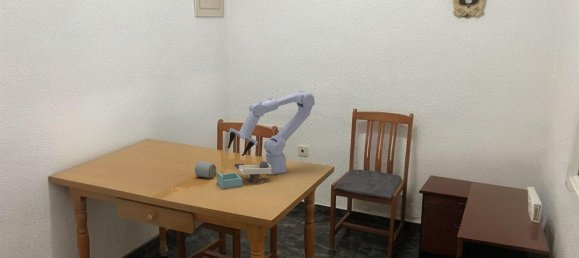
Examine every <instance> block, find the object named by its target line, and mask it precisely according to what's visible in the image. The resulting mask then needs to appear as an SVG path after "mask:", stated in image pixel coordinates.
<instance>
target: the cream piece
mask: <svg viewBox="0 0 579 258" xmlns="http://www.w3.org/2000/svg"><path fill="white" fill-rule="evenodd" d="M267 164H268V163H267ZM259 165H260V164H246V165H245V164H244V163H234V167H235V168H236V169H237V171H238V172H240V174H241V175H242V176H243V175H244V176H245V175H250V174H260V175H265V174H267V175H269V174H271V170H272V168H271V165H269V164H268V168H260V166H259ZM271 175H272V174H271Z"/></svg>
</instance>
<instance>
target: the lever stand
mask: <svg viewBox="0 0 579 258" xmlns="http://www.w3.org/2000/svg"><path fill="white" fill-rule="evenodd" d="M245 180H246V181H247V182H248V183H249V184H250V185H259V184H265V180H263V179H262V178H261V174H249V176H248V177H246V178H245Z"/></svg>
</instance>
